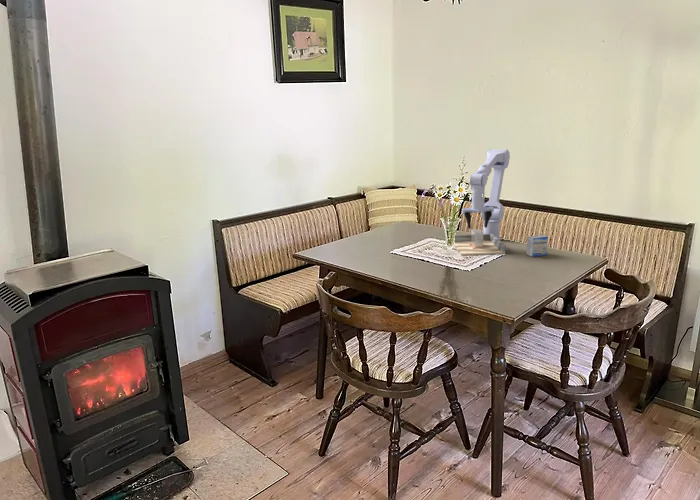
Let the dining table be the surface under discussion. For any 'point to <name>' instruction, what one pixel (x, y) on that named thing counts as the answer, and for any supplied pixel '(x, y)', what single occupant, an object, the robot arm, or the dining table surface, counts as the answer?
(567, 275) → the dining table surface
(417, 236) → the dining table surface
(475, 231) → the aluminium block
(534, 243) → the medicine box
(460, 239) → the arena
